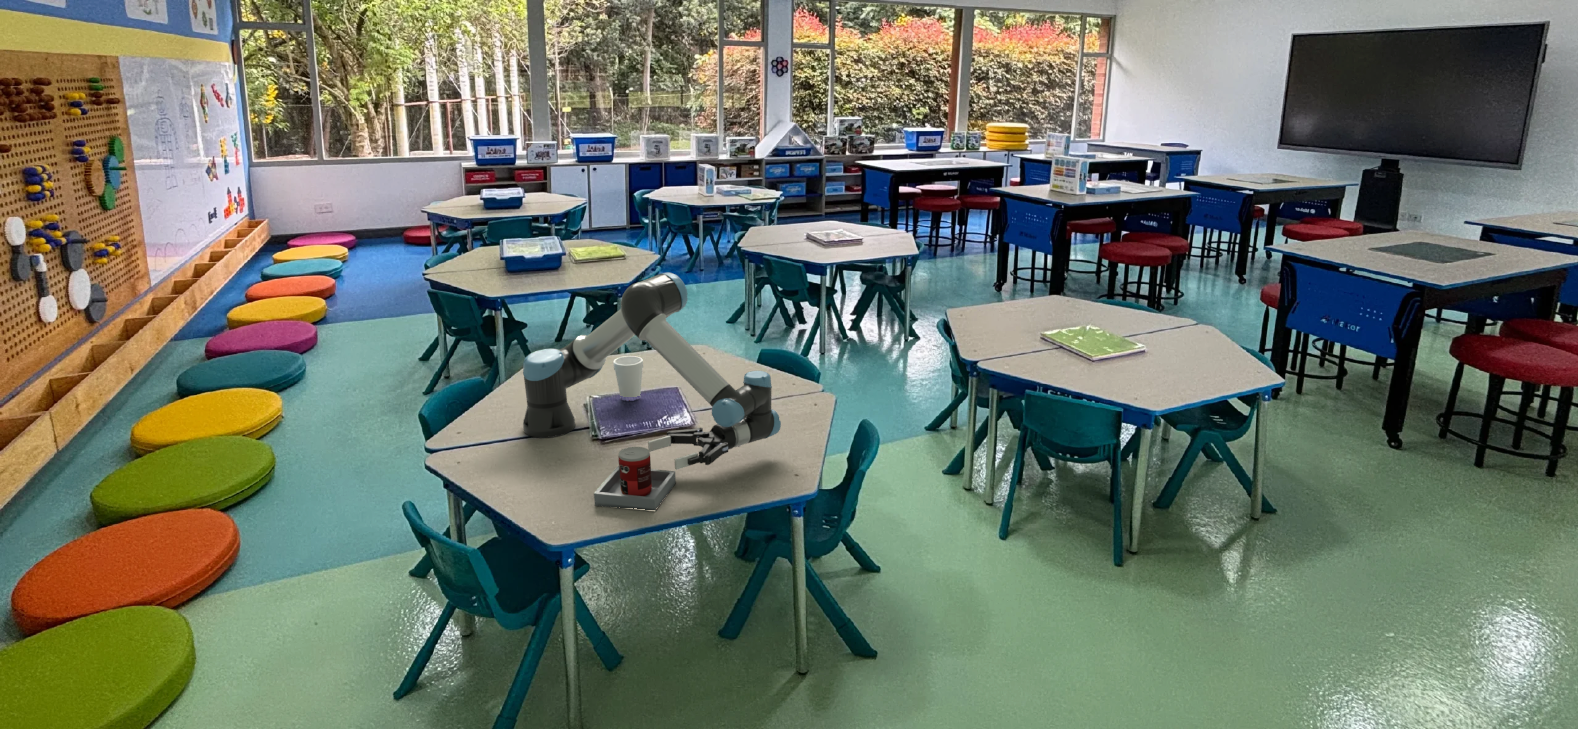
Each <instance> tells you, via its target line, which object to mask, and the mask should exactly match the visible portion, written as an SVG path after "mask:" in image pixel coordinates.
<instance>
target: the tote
mask: <svg viewBox="0 0 1578 729" xmlns="http://www.w3.org/2000/svg"><path fill="white" fill-rule="evenodd" d="M651 480H652V489H651V492H650V493H649V494H648V495H646V496H635V495H625V494H622V491H621V485H620V472H619V465H618V466H616V467H615V468H614V470H613V471H612V472H610V474H609V475H608V476H607V478H605V480H604V481H603V482H602V483H601V484H600V486H598V488H596V490H595V491H594V493H593V499H594V507H602V506H603V507H604V508H611V507H617V508H616V509H621V508H633V509H634V508H637V509H645V510H656V508H657V507H658V506H659V505H660V503H661V502H662V500H663V499H664V498H665V497H666V498H667V496H668V495H669V493H670V492H671V491H672V490H673V488H674V486H675V485H676V484H677V481H676V480H677V479H676V471H675V470H668V469H667V470H665V469H656V468H655V469H654V468H651ZM672 487H673V488H672ZM670 490H671V491H670ZM669 491H670V492H669ZM667 494H668V495H667ZM666 495H667V496H666ZM666 498H665V499H666ZM665 499H664V500H665ZM664 500H663V501H664ZM662 503H663V502H662ZM662 503H661V504H662ZM660 506H661V505H660ZM660 506H659V507H660ZM603 507H602V508H603ZM619 507H620V508H619ZM659 507H658V508H659ZM656 511H657V510H656Z"/></svg>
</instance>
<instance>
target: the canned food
mask: <svg viewBox="0 0 1578 729" xmlns="http://www.w3.org/2000/svg"><path fill="white" fill-rule="evenodd" d="M618 466H619V472H620V485H621V491H622V494H625V495H635V496H646V495H648V494H649V493H650V492H651V489H652V480H651V469H652V465H651V453H650V451H649V450H648V448H646V447H642V446H628V447H625V448H622V449H621V450H619V451H618Z"/></svg>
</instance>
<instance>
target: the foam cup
mask: <svg viewBox="0 0 1578 729" xmlns="http://www.w3.org/2000/svg"><path fill="white" fill-rule="evenodd" d="M612 363H613V370H614V372H615V377H616V382H617V387H618V392H619V397H620V396H623V397H637V396H640V397H641V395H640V394H642V380H643V368H644V360H643V358H642V357H640V356H636V355H625V356H618V357H617V358H614V359H613V362H612Z"/></svg>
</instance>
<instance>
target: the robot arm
mask: <svg viewBox="0 0 1578 729" xmlns="http://www.w3.org/2000/svg"><path fill="white" fill-rule="evenodd" d="M621 296H622V297H621V301H620V308H619V310H617V311H616V312H615V313H614V314H613V315H612V316H610V317H609V318H608V319H605V321H603V322H602V324H600V325H599V326H598V327H596V328H595V329H594V330H593V331H592V332H590V333H589V334H588V335H586V334H581V335H578V336H577V337H575V339H573V340H572V341H571V342H570V343H569V344H567V345H566V346H564V347H562V348H560V349H557V348H543V349H538V350H536V351H533V352H530V353H529V354H528V355H526V357H524V359H523V364H522V365H523V367H522V369H523V370H522V374H523V380H524V387H525V388H524V390H525V396H526V410H525V414H524V417H523V418H524V419H523V422H522V426H523V433H524V434H526V435H527V436H530V437H532V438H533V437H534V438H543V439H544V438H554V437H558V436H559V437H560V436H563V435H566V434H568V433H570V432H572V431H573V430H574V429H575V427H576V419H575V417H574V413H573V412H572V409H571V407H570V405H569V403H568V396H567V389H569V388H570V387H571V388H572V386H575V385H578V384H579V383H581V382H584V381H585V380H587V379H591V378H593V377H594V376H596V375H597V374H598V373H599V372H600V371H601V370H602V368H603V366H604V365H605V363H606V361H607V360H606V359H607V358H608V357H609V356H610V355H612V354H613V353H615V351H616V350H618V349H620V347H622V346H624V344H626V343H627V342H628V341H630V340H631V339H632V338H633V337H635V336H636V337H637V339H639V340H640V341H646V342H647V343H648V344H649V345H650V346H651V347H652V348H653V349H654V350H655V351H656V352H657V353H658V354H659V355H660V356H661V357H662V358H663V359H664V360H665V361H666V362H667V363H668V364H669V365H670V366H671V367H672V368H673V369H674V370H675V371H676V372H677V373H678V374H679V375H680V376H681V377H682V378H683V379H684V380H685V381H686V382H687V383H688V384H689V385H690V386H691V387H692V388H693V389H694V390H695V391H696V392H697V393H698V394H699V395H700V396H701V397H702V398H703V399H704V400H705V401H706V402H707V403H708V404H709V405H710V406H711V407H712V408H711V416H712V418H713V421H714V422H715V423H716V424H714V425H713V426H712V427H711V429H710V430H709V431H704V430H703V427H697V428H692V429H691V428H690V429H677V430H667V431H666V436H663V437H659V438H656V439H653V440H649V441H647V444H648V445H647V449H648V450H649V451H650V452H654V451H658V450H661V449H665V448H667V447H671V446H672V445H674V444H676V445H693V446H694V447H695V446H696V447H701V448H702V449H701V450H700V451H698V452H692V453H690V454H687V455H683V456H680V457H677V458H675V459H674V469H675V470H676V471H677V470H680V469H683V468H686V467H689V466H693V465H696V464H704V465H705V466H709V465H711V464H713V463H714V462H715V461H716V460H717V459H719V458H720V457H722V456H723V455H725V454H727V453H729V450H731V449H734V448H737V447H738V448H740V447H741V446H743V445H746V444H751V443H754V442H757V441H761V440H764V439H768V438H769V437H772V436H774V435H777V434H778V433H779V432H780V430H781V426H782V421H781V420H780V416H779V413H778V412H777V411H776V410H774V409H772V390H773V389H772V388H773V386H772V378H771V375H770V374H769V373H768V372H766V371H763V370H752V371H748V372H746V373H744V376H743V385H742V386H741V387H738V389H736V388H734V387H733V386H732V385H731V384H730V383H729V382H728V381H727V380H726V379H725V378H724V377H723V376H722V375H721V374H720V373H719V372H718V371H717V370H716V369H715V368H714V367H713V366H712V365H711V364H710V363H709V362H708V361H707V360H706V359H705V358H704V357H703V356H702V355H701V354H700V353H699V352H698V351H697V350H696V349H695V348H694V347H693V346H692V345H691V344H690V343H689V342H688V341H687V340H686V339H685V338H684V337H683V336H682V335H681V334H680V333H679V332H678V331H677V330H676V329H675V328H674V327H673V326H672V325H671V324H670V323H669V322H668V321H667V318H668V317H670V316H672V315H673V314H676V313H679V312H680V311H682V310H683V309H684V308H685V307H686V305H687V303H688V289H687V287H686V284H685V283H684V281H683V280H682V279H681V278H680V276H679V275H677V274H676V273H675V274H674V273H672V272H661V273H658V274H657V275H654V276H652V277H649V278H647V279H644V280H641V281H638V282H636V283H635V282H634V283H632V284H631V285H629V286H627V288H626V290H625V291H624V293H623V294H622V295H621Z"/></svg>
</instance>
